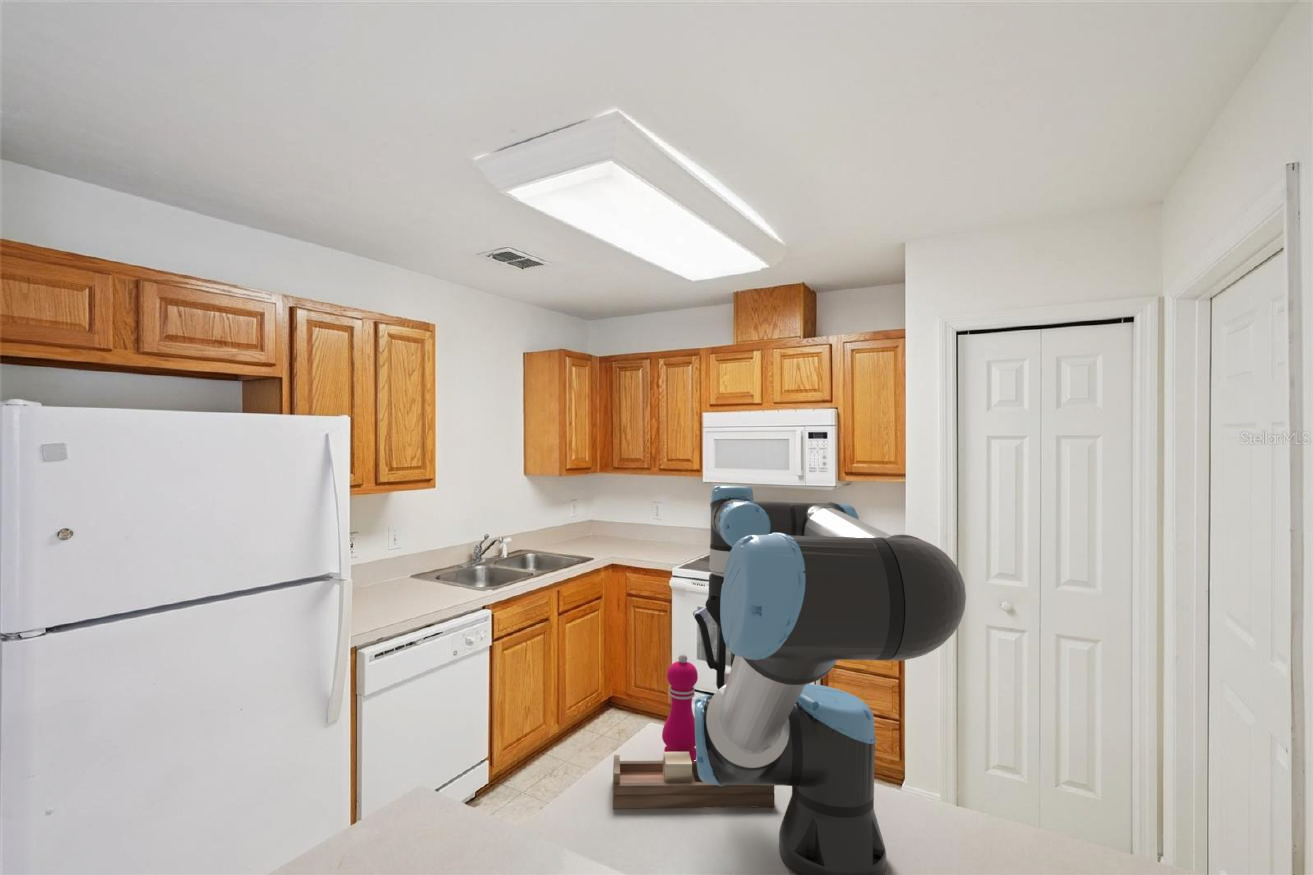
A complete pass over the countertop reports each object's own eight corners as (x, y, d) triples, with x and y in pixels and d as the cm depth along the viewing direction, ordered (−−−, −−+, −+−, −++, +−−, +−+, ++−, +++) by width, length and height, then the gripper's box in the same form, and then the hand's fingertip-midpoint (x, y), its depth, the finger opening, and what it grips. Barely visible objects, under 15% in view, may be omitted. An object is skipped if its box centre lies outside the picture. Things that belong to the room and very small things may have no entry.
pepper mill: (695, 770, 114) (698, 661, 115) (657, 764, 116) (660, 657, 116) (701, 752, 121) (704, 650, 122) (665, 747, 123) (668, 646, 123)
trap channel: (774, 806, 102) (774, 776, 102) (613, 808, 100) (614, 777, 101) (761, 779, 111) (761, 751, 111) (612, 780, 109) (613, 751, 110)
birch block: (691, 788, 104) (692, 764, 104) (665, 788, 103) (665, 764, 103) (688, 774, 108) (688, 751, 108) (662, 774, 108) (663, 751, 108)
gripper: (761, 570, 112) (758, 700, 111) (691, 568, 111) (687, 700, 110) (772, 577, 105) (768, 717, 104) (696, 576, 104) (693, 717, 103)
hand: (727, 708), depth 107 cm, fingers closed
